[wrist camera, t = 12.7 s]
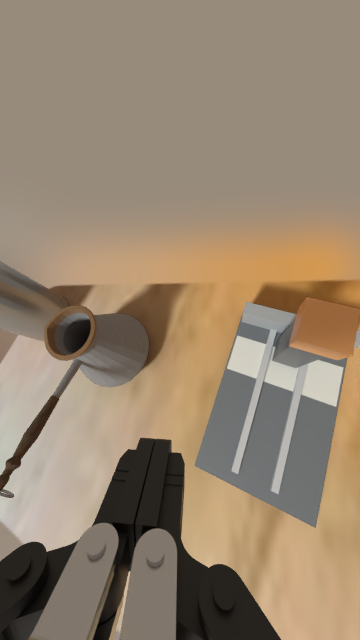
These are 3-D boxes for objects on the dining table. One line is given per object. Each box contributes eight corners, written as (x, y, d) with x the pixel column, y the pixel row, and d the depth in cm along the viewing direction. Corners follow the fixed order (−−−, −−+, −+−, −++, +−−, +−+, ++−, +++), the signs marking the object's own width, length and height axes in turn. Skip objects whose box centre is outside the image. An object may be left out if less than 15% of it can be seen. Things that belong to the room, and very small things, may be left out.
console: (311, 521, 24) (331, 553, 20) (196, 462, 29) (189, 476, 24) (345, 340, 29) (368, 330, 25) (243, 313, 34) (245, 300, 29)
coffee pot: (102, 315, 39) (33, 272, 25) (161, 323, 36) (119, 280, 22) (60, 444, 33) (-60, 481, 19) (127, 467, 30) (41, 530, 16)
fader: (298, 372, 28) (352, 355, 16) (267, 362, 29) (296, 339, 17) (304, 344, 29) (361, 309, 17) (275, 336, 30) (306, 296, 18)
